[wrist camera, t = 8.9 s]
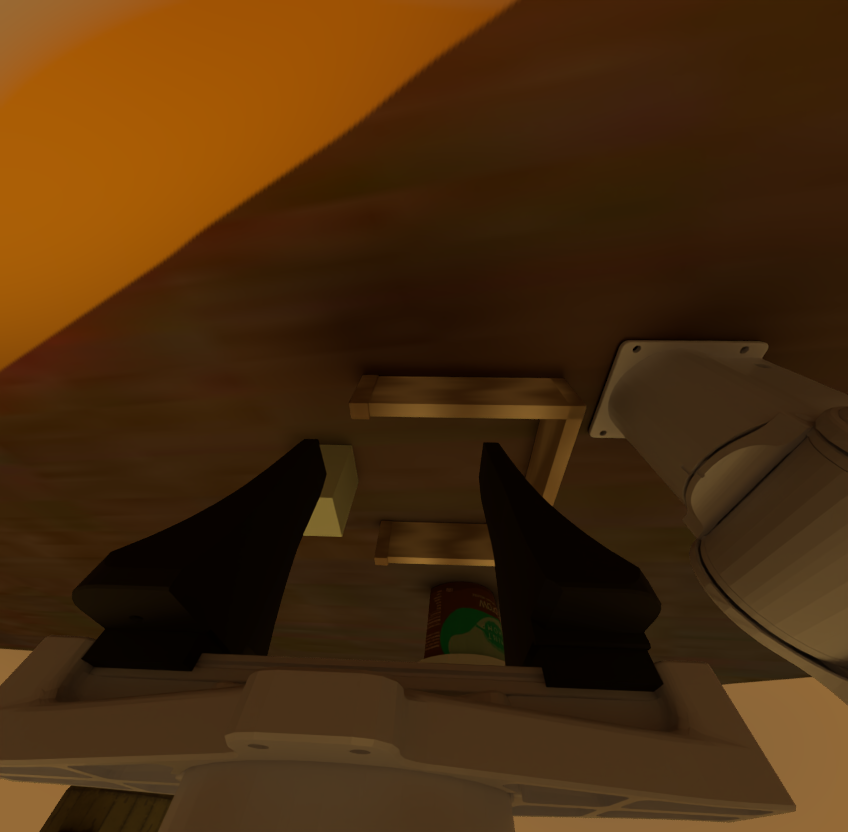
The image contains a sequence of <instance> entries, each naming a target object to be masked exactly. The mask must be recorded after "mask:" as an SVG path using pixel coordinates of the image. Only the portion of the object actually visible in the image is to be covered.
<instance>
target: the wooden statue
mask: <svg viewBox="0 0 848 832" xmlns="http://www.w3.org/2000/svg"><path fill="white" fill-rule="evenodd" d="M173 798H174V795H170V794H160V793H149V792H139V791H128V790H118V789H107V788H96V787H85V786H73V785H71V786H70V787H69V788H68V789H67V790H66V792H65V793H64V795H63V796H62V798H61V799H60V801H59V802H58V804H57V806H56V807H55V809H54V810H53V812H52V813H51V815H50V816H49V818H48V819H47V821H46V822H45V824H44V826H43V827H42V829H41V830H40V832H158V830H159V828H160V826H161V824H162V822H163V819H164V817H165V815H166V813H167V811H168V809H169V806H170V804H171V802H172V800H173Z"/></svg>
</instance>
